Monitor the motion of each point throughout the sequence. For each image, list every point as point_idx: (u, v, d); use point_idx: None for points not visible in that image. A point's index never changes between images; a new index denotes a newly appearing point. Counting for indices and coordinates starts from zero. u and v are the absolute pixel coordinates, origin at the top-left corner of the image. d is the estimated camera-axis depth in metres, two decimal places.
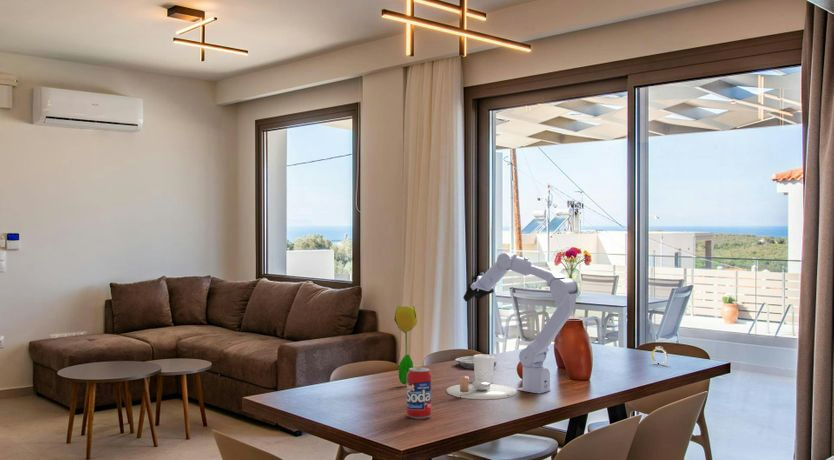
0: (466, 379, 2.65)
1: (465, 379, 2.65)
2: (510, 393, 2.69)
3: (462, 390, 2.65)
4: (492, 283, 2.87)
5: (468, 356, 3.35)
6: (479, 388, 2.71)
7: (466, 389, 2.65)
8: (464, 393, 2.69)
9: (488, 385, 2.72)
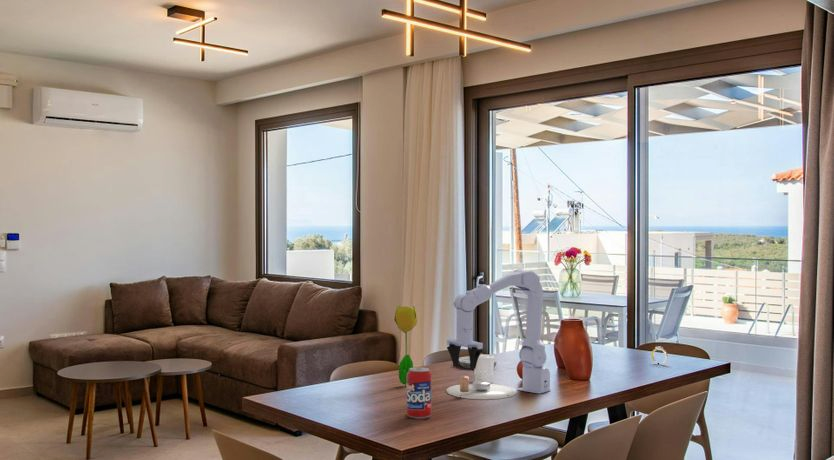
0: (466, 379, 2.65)
1: (465, 379, 2.65)
2: (510, 393, 2.69)
3: (462, 390, 2.65)
4: None
5: (468, 356, 3.35)
6: (479, 388, 2.71)
7: (466, 389, 2.65)
8: (464, 393, 2.69)
9: (488, 385, 2.72)
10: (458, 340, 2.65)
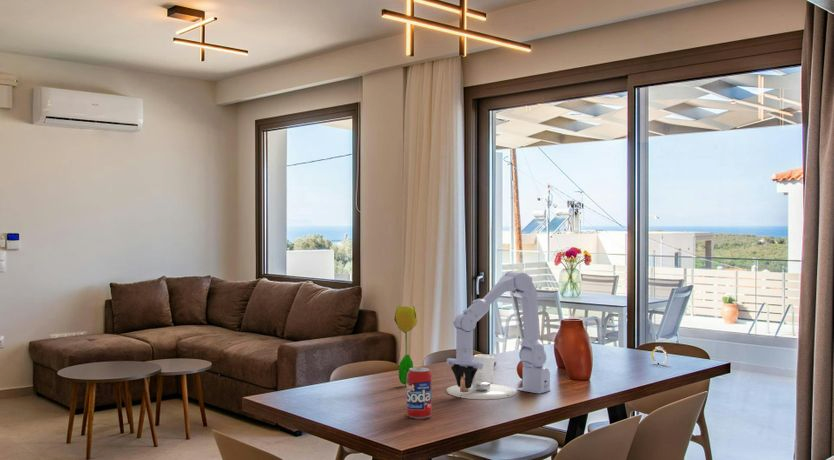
0: None
1: None
2: (510, 393, 2.69)
3: (462, 390, 2.65)
4: None
5: None
6: (479, 388, 2.71)
7: (466, 389, 2.65)
8: (464, 393, 2.69)
9: (488, 385, 2.72)
10: (458, 360, 2.65)
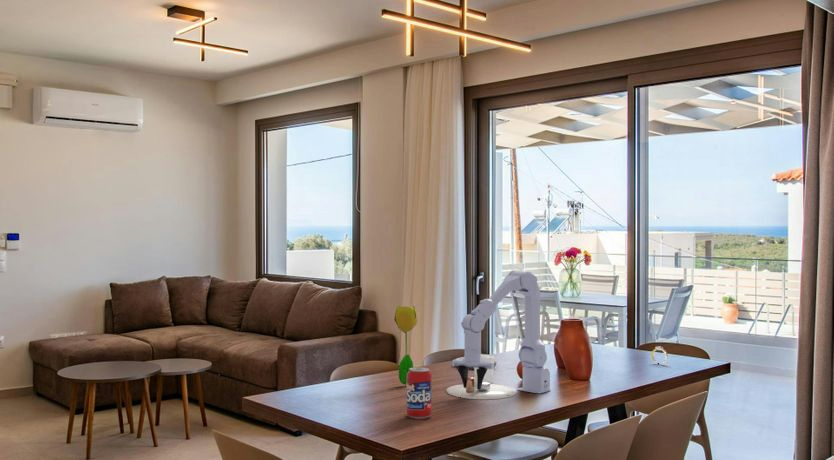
0: (473, 380, 2.64)
1: (472, 380, 2.64)
2: (510, 393, 2.69)
3: (469, 391, 2.64)
4: None
5: None
6: (481, 388, 2.71)
7: (473, 390, 2.64)
8: (464, 393, 2.69)
9: (489, 385, 2.73)
10: (468, 361, 2.63)
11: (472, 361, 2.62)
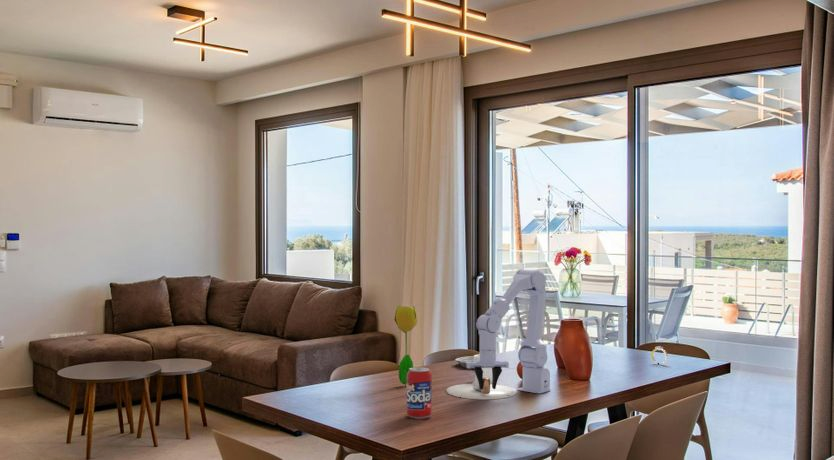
0: (489, 380, 2.64)
1: (489, 380, 2.63)
2: (510, 393, 2.69)
3: (487, 392, 2.63)
4: None
5: (468, 356, 3.35)
6: None
7: (489, 390, 2.64)
8: (464, 393, 2.69)
9: None
10: (487, 362, 2.61)
11: (491, 361, 2.62)
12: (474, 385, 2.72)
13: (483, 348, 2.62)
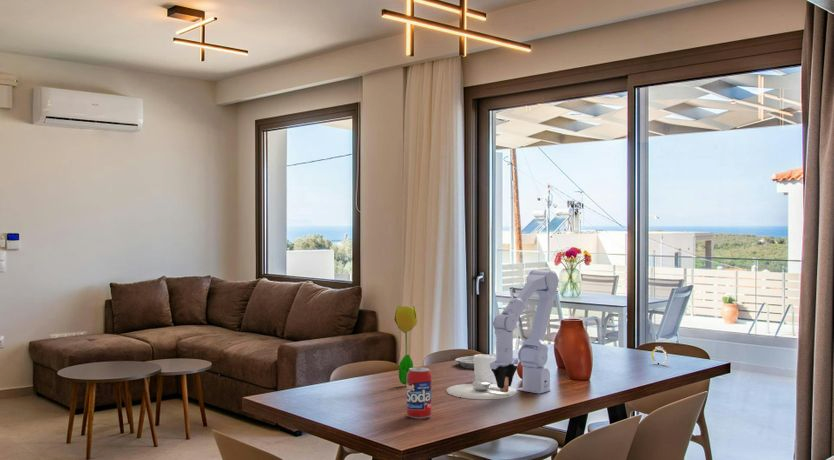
0: None
1: None
2: (510, 393, 2.69)
3: (508, 389, 2.67)
4: None
5: (468, 356, 3.35)
6: (489, 387, 2.73)
7: None
8: (464, 393, 2.69)
9: None
10: (510, 360, 2.65)
11: (512, 359, 2.66)
12: (480, 386, 2.71)
13: (501, 347, 2.65)
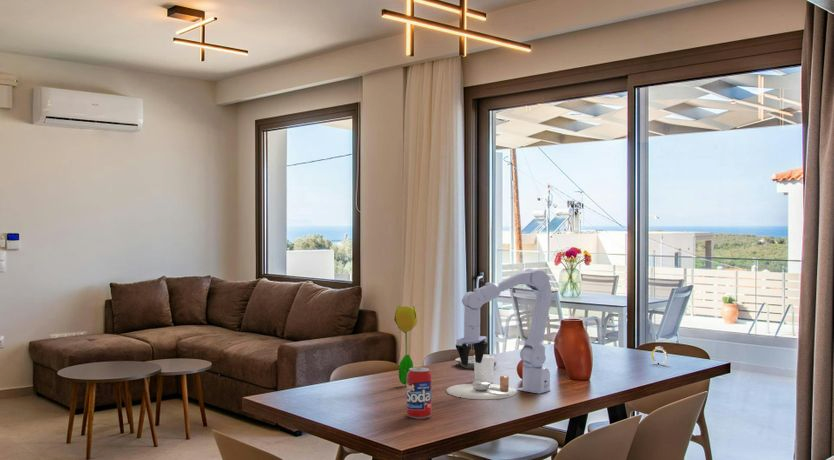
0: None
1: None
2: (510, 393, 2.69)
3: (508, 389, 2.67)
4: None
5: (468, 356, 3.35)
6: (489, 387, 2.73)
7: None
8: (464, 393, 2.69)
9: None
10: (476, 337, 2.69)
11: (479, 337, 2.70)
12: (480, 386, 2.71)
13: (465, 324, 2.70)
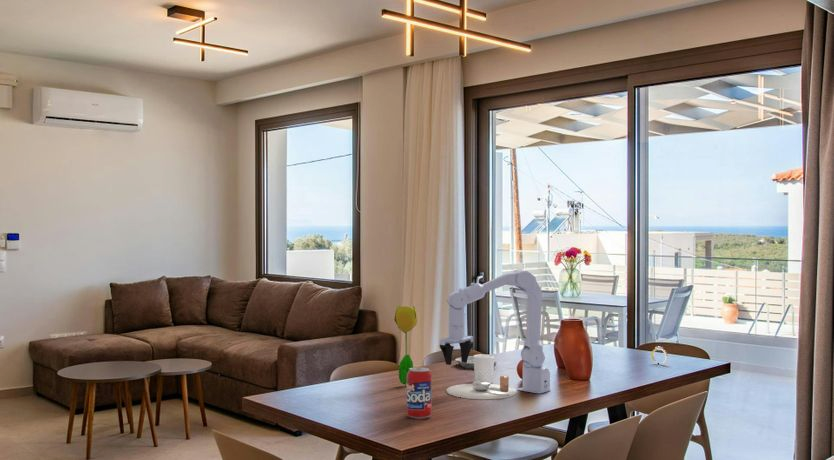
0: None
1: None
2: (510, 393, 2.69)
3: (508, 389, 2.67)
4: None
5: (468, 356, 3.35)
6: (489, 387, 2.73)
7: None
8: (464, 393, 2.69)
9: None
10: (460, 337, 2.70)
11: (463, 336, 2.71)
12: (480, 386, 2.71)
13: (449, 323, 2.72)
